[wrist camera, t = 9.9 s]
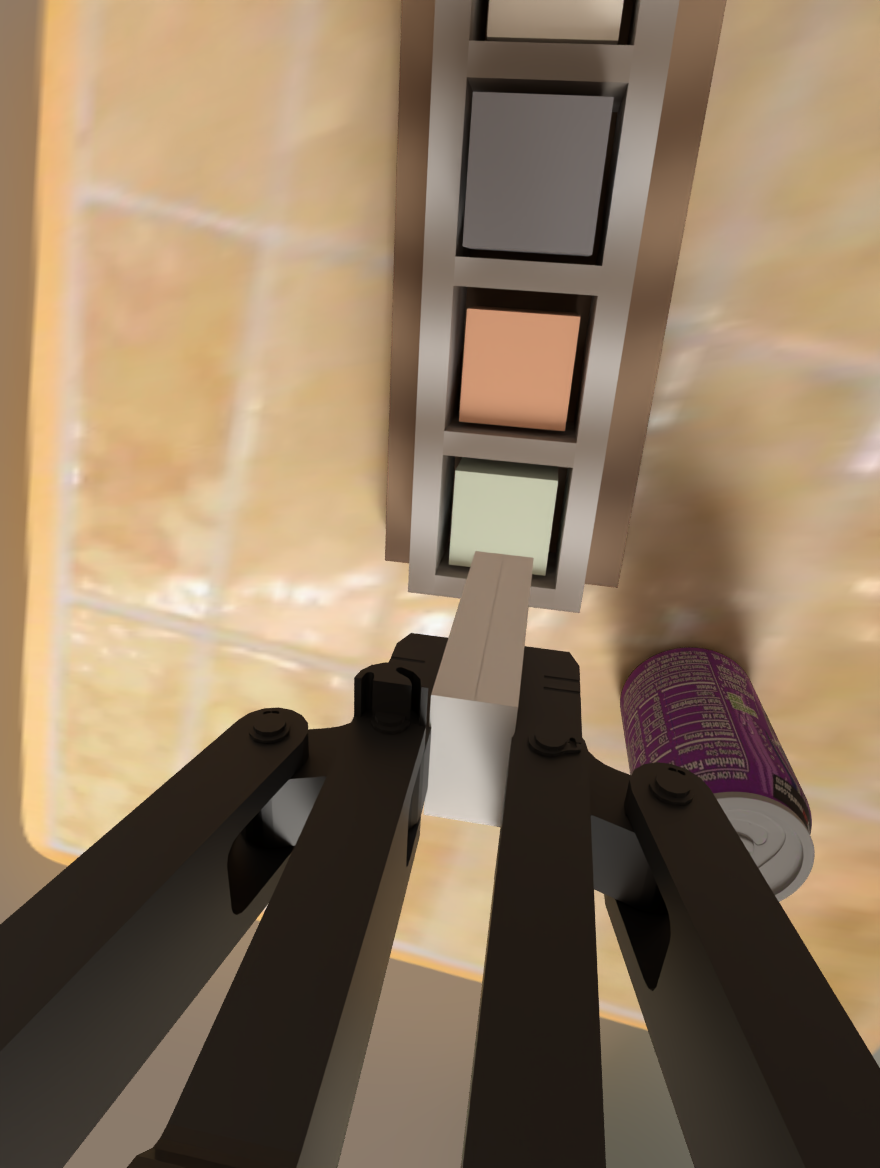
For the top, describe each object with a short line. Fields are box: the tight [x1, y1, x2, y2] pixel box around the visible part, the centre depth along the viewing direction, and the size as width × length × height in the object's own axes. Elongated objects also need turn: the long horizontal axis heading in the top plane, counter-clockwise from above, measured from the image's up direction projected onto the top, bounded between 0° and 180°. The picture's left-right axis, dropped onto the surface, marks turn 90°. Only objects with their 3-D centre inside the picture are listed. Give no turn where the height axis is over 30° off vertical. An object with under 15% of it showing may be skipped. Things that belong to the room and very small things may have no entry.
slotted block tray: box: [385, 0, 727, 613], centre depth 28 cm, size 28×12×6 cm, turn 177°
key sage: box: [449, 457, 558, 576], centre depth 32 cm, size 4×4×3 cm
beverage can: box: [620, 647, 814, 902], centre depth 33 cm, size 7×7×12 cm
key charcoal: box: [463, 92, 614, 257], centre depth 24 cm, size 4×4×3 cm
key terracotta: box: [459, 306, 580, 431], centre depth 29 cm, size 4×4×3 cm
